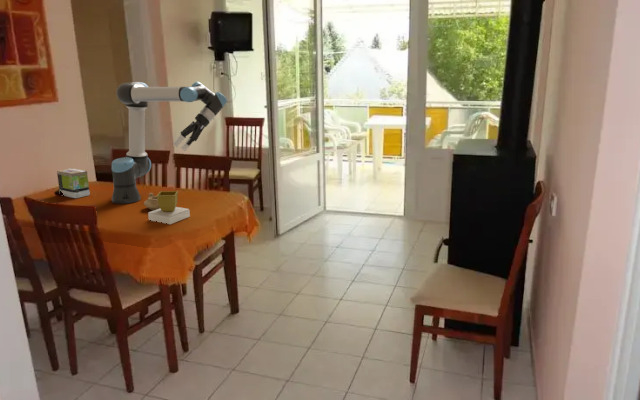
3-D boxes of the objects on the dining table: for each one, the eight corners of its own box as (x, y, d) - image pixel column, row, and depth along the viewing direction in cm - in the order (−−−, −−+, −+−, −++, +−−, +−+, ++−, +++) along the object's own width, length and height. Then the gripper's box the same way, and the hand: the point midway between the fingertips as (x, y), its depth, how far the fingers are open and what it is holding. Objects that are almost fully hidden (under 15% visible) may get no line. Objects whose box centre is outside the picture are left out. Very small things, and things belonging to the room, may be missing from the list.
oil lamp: (158, 214, 260) (157, 199, 258) (139, 209, 268) (138, 195, 265) (174, 209, 268) (173, 194, 266) (156, 204, 276) (155, 190, 274)
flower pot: (161, 208, 256) (160, 191, 253) (179, 207, 257) (177, 190, 254) (158, 213, 247) (156, 195, 245) (176, 212, 248) (174, 195, 246)
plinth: (148, 220, 250) (148, 212, 249) (168, 212, 262) (168, 205, 261) (170, 224, 244) (169, 216, 243) (189, 216, 256) (189, 209, 255)
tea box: (90, 195, 295) (87, 170, 291) (74, 199, 287) (71, 173, 283) (75, 191, 303) (72, 167, 299) (59, 195, 294) (55, 170, 290)
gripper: (218, 124, 263) (191, 155, 259) (201, 119, 283) (176, 148, 279) (208, 115, 259) (180, 146, 255) (192, 110, 279) (166, 139, 275)
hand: (178, 147), depth 267 cm, fingers open, 13 cm apart
